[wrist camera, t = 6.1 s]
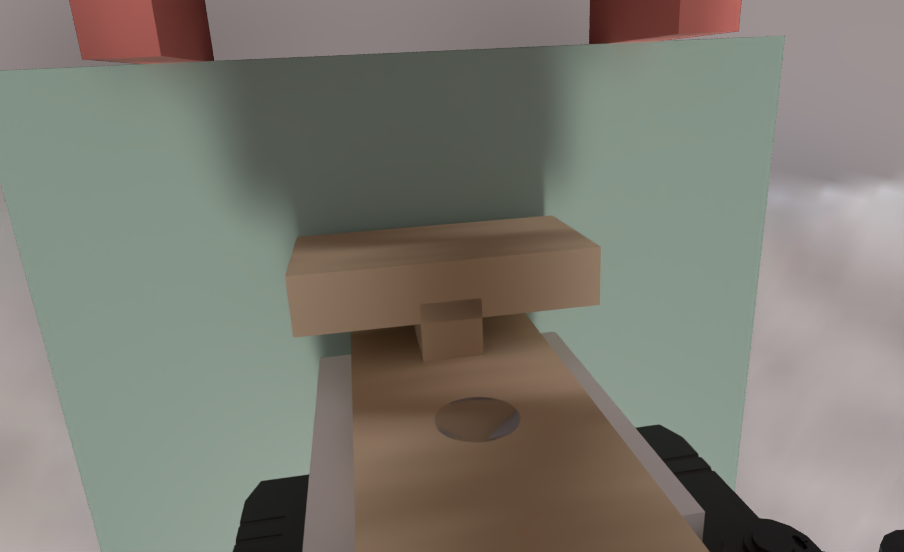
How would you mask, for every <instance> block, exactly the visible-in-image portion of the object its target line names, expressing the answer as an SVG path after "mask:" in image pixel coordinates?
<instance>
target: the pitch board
mask: <svg viewBox="0 0 904 552" xmlns="http://www.w3.org/2000/svg"><path fill="white" fill-rule="evenodd" d="M784 42H785V36H765V37H742V38H720V39H697V40H675V41H652V42H630V43H607V44H587V45H586V44H585V45H563V46H541V47H519V48H496V49H473V50H451V51H428V52H405V53H383V54H363V55H361V54H360V55H338V56H317V57H316V56H315V57H293V58H272V59H271V58H270V59H249V60H225V61H203V62H180V63H158V64H136V65H115V66H114V65H113V66H91V67H68V68H48V69H47V68H46V69H24V70H2V71H0V184H1V187H2V191H3V195H4V198H5V202H6V206H7V209H8V213H9V216H10V220H11V224H12V227H13V231H14V235H15V238H16V242H17V246H18V249H19V253H20V257H21V260H22V264H23V268H24V271H25V275H26V279H27V282H28V286H29V290H30V293H31V297H32V300H33V304H34V308H35V311H36V315H37V319H38V322H39V326H40V330H41V333H42V337H43V341H44V344H45V348H46V352H47V355H48V359H49V363H50V366H51V370H52V374H53V377H54V381H55V384H56V388H57V392H58V395H59V399H60V403H61V406H62V410H63V414H64V417H65V421H66V425H67V428H68V432H69V436H70V439H71V443H72V447H73V450H74V454H75V458H76V461H77V465H78V468H79V472H80V476H81V479H82V483H83V487H84V490H85V494H86V498H87V501H88V505H89V509H90V512H91V516H92V520H93V523H94V527H95V531H96V534H97V538H98V542H99V545H100V549H101V552H233V549H234V545H236V536H237V532H238V528H239V527H240V519H241V515H242V511H243V507H244V503H245V500H246V499H247V498H248V496H249V495H250V494H251V493H252V492H253V490H254V489H255V488H256V487H257V485H258V484H259V483H260V482H261V481H264V480H272V479H279V478H286V477H293V476H301V475H308V474H309V472H310V461H311V450H312V439H313V428H314V416H315V405H316V394H317V383H318V372H319V361H320V358H323V357H332V356H341V355H350V354H351V332H342V333H332V334H323V335H314V336H304V337H295V338H293V332H292V325H291V318H290V311H289V303H288V296H287V289H286V282H285V274H286V271H287V268H288V264H289V261H290V258H291V254H292V251H293V248H294V245H295V241H296V238H297V237H301V236H313V235H325V234H337V233H349V232H361V231H372V230H384V229H396V228H408V227H420V226H432V225H444V224H455V223H467V222H479V221H491V220H503V219H515V218H526V217H538V216H550V215H553V216H554V217H556V218H557V219H559V220H560V221H562V222H563V223H565V224H567V225H568V226H570V227H571V228H573V229H574V230H576V231H577V232H579V233H580V234H582V235H583V236H585V237H586V238H588V239H590V240H591V241H593V242H594V243H596V244H597V245H599V246H600V247H601V272H600V305H594V306H585V307H576V308H566V309H557V310H548V311H538V312H529V313H525V314H526V315H527V316H528V318H529V319H530V320H531V321H532V323H533V324H534V325H535V327H536V328H537V329H538V330H539V332H540V333H546V332H556V333H557V334H558V335H559V337H560V338H561V339H562V340H563V341H564V343H565V344H566V345H567V346H568V348H569V349H570V350H571V351H572V352H573V354H574V355H575V356H576V357H577V358H578V360H579V361H580V362H581V363H582V364H583V366H584V367H585V368H586V369H587V370H588V372H589V373H590V374H591V375H592V376H593V378H594V379H595V380H596V381H597V382H598V384H599V385H600V386H601V387H602V388H603V390H604V391H605V392H606V393H607V394H608V396H609V397H610V398H611V399H612V400H613V402H614V403H615V404H616V405H617V406H618V408H619V409H620V410H621V411H622V413H623V414H624V415H625V416H626V417H627V419H628V420H629V421H630V422H631V423H632V425H633V426H634V427H635V428H636V427H644V426H651V425H658V424H660V425H662V426H664V427H665V428H667V429H669V430H671V431H673V432H674V433H676V434H678V435H680V436H682V437H683V438H684V439H685V440H686V441H687V442H688V443H689V444H690V445H691V446H692V447H693V449H694V450H695V451H696V452H697V453H698V455H699V457H702V458H703V459H704V460H705V461H706V462H707V463H708V464H709V466H710V467H711V469H712V471H715V472H716V473H717V474H718V475H719V476H720V477H721V478H722V479H723V480H724V481H725V483H726V484H727V485H728V486H729V487H730V488H731V489H732V490H733V491H734V492H735V484H736V475H737V466H738V457H739V448H740V439H741V430H742V421H743V412H744V403H745V394H746V385H747V376H748V367H749V358H750V349H751V340H752V331H753V322H754V313H755V304H756V295H757V286H758V277H759V268H760V259H761V250H762V241H763V232H764V223H765V214H766V205H767V196H768V187H769V178H770V169H771V159H772V150H773V141H774V132H775V123H776V114H777V105H778V96H779V87H780V78H781V69H782V60H783V50H784Z"/></svg>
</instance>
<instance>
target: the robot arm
mask: <svg viewBox="0 0 904 552" xmlns="http://www.w3.org/2000/svg"><path fill="white" fill-rule="evenodd" d="M541 334H542V336H543V337H544V338H545V340H546V341H547V342H548V343H549V345H550V346H551V347H552V349H553V350H554V351H555V352H556V354H557V355H558V356H559V358H560V359H561V360H562V361H563V363H564V364H565V365H566V367H567V368H568V369H569V371H570V372H571V373H572V374H573V376H574V377H575V378H576V380H577V381H578V382H579V383H580V385H581V386H582V387H583V389H584V390H585V391H586V393H587V394H588V395H589V396H590V398H591V399H592V400H593V402H594V403H595V404H596V405H597V407H598V408H599V409H600V411H601V412H602V413H603V414H604V416H605V417H606V418H607V420H608V421H609V422H610V424H611V425H612V426H613V427H614V429H615V430H616V431H617V433H618V434H619V435H620V436H621V438H622V439H623V440H624V442H625V443H626V444H627V446H628V447H629V448H630V449H631V451H632V452H633V453H634V455H635V456H636V457H637V458H638V460H639V461H640V462H641V464H642V465H643V466H644V468H645V469H646V470H647V471H648V473H649V474H650V475H651V477H652V478H653V479H654V480H655V482H656V483H657V484H658V486H659V487H660V488H661V489H662V491H663V492H664V493H665V495H666V496H667V497H668V499H669V500H670V501H671V502H672V504H673V505H674V506H675V508H676V509H677V510H678V511H679V513H680V514H681V515H682V517H683V518H684V519H685V521H686V522H687V523H688V524H689V526H690V527H691V528H692V530H693V531H694V532H695V533H696V535H697V536H698V537H699V539H700V540H701V541H702V543H703V544H704V545H705V546H706V548H707V549H708V550H709V552H823V551H821V550H820V549H819V548H818V547H817V546H816V545H815V544H814V543H813V542H812V541H811V540H810V539H809V538H808V537H807V536H806V535H804V534H803V533H801V532H799V531H798V530H796V529H794V528H793V527H791V526H789V525H786V524H783V523H780V522H777V521H774V520H770V519H761V518H758V516H757V515H756V514H755V513H754V512H753V511H752V510H751V509H750V508H749V507H748V506H747V505H746V504H745V503H744V502H743V501H742V499H741V498H740V497H739V496H738V495H737V494H736V493H735V492H734V491H733V490H732V489H731V488H730V487H729V486H728V485H727V484H726V483H725V481H724V480H723V479H722V478H721V477H720V476H719V475H718V474H717V473H716V472H715V471H712V469H711V467H710V466H709V464H708V463H707V462H706V461H705V460H704V459H703V458H702V457H699V455H698V453H697V452H696V451H695V450H694V449H693V447H692V446H691V445H690V444H689V443H688V442H687V441H686V440H685V439H684V438H683V437H682V436H680V435H678V434H676V433H674V432H673V431H671V430H669V429H667V428H665V427H664V426H662V425H660V424H658V425H651V426H644V427H636V428H635V427H634V426H633V425H632V423H631V422H630V421H629V420H628V419H627V417H626V416H625V415H624V414H623V413H622V411H621V410H620V409H619V408H618V406H617V405H616V404H615V403H614V402H613V400H612V399H611V398H610V397H609V396H608V394H607V393H606V392H605V391H604V390H603V388H602V387H601V386H600V385H599V384H598V382H597V381H596V380H595V379H594V378H593V376H592V375H591V374H590V373H589V372H588V370H587V369H586V368H585V367H584V366H583V364H582V363H581V362H580V361H579V360H578V358H577V357H576V356H575V355H574V354H573V352H572V351H571V350H570V349H569V348H568V346H567V345H566V344H565V343H564V341H563V340H562V339H561V338H560V337H559V335H558V334H557V333H556V332H546V333H541ZM233 552H356V537H355V495H354V454H353V412H352V370H351V354H350V355H341V356H332V357H323V358H320V361H319V372H318V383H317V394H316V405H315V416H314V428H313V439H312V450H311V461H310V472H309V474H308V475H301V476H293V477H286V478H279V479H272V480H264V481H261V482H260V483H259V484H258V485H257V487H256V488H255V489H254V490H253V492H252V493H251V494H250V495H249V496H248V498H247V499H246V500H245V503H244V507H243V511H242V515H241V519H240V527H239V528H238V532H237V536H236V545H234V549H233ZM879 552H904V530H895V531H893V532H891V533H889V534H887V535H884V538H883V540H882V542H881V544H880V548H879Z"/></svg>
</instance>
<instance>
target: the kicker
mask: <svg viewBox="0 0 904 552" xmlns="http://www.w3.org/2000/svg"><path fill="white" fill-rule="evenodd" d="M600 272H601V247H600V246H599V245H597V244H596V243H594V242H593V241H591V240H590V239H588V238H586V237H585V236H583V235H582V234H580V233H579V232H577V231H576V230H574V229H573V228H571V227H570V226H568V225H567V224H565V223H563V222H562V221H560V220H559V219H557V218H556V217H554V216H553V215H550V216H538V217H526V218H515V219H503V220H491V221H479V222H467V223H455V224H444V225H432V226H420V227H408V228H396V229H384V230H372V231H361V232H349V233H337V234H325V235H313V236H301V237H297V238H296V241H295V245H294V248H293V251H292V254H291V258H290V261H289V264H288V268H287V271H286V274H285V282H286V289H287V296H288V303H289V311H290V318H291V325H292V332H293V338H295V337H304V336H314V335H323V334H332V333H342V332H351V370H352V412H353V454H354V495H355V537H356V552H709V550H708V549H707V548H706V546H705V545H704V544H703V543H702V541H701V540H700V539H699V537H698V536H697V535H696V533H695V532H694V531H693V530H692V528H691V527H690V526H689V524H688V523H687V522H686V521H685V519H684V518H683V517H682V515H681V514H680V513H679V511H678V510H677V509H676V508H675V506H674V505H673V504H672V502H671V501H670V500H669V499H668V497H667V496H666V495H665V493H664V492H663V491H662V489H661V488H660V487H659V486H658V484H657V483H656V482H655V480H654V479H653V478H652V477H651V475H650V474H649V473H648V471H647V470H646V469H645V468H644V466H643V465H642V464H641V462H640V461H639V460H638V458H637V457H636V456H635V455H634V453H633V452H632V451H631V449H630V448H629V447H628V446H627V444H626V443H625V442H624V440H623V439H622V438H621V436H620V435H619V434H618V433H617V431H616V430H615V429H614V427H613V426H612V425H611V424H610V422H609V421H608V420H607V418H606V417H605V416H604V414H603V413H602V412H601V411H600V409H599V408H598V407H597V405H596V404H595V403H594V402H593V400H592V399H591V398H590V396H589V395H588V394H587V393H586V391H585V390H584V389H583V387H582V386H581V385H580V383H579V382H578V381H577V380H576V378H575V377H574V376H573V374H572V373H571V372H570V371H569V369H568V368H567V367H566V365H565V364H564V363H563V361H562V360H561V359H560V358H559V356H558V355H557V354H556V352H555V351H554V350H553V349H552V347H551V346H550V345H549V343H548V342H547V341H546V340H545V338H544V337H543V336H542V334H541V333H540V332H539V330H538V329H537V328H536V327H535V325H534V324H533V323H532V321H531V320H530V319H529V318H528V316H527V315H526V314H525V313H529V312H538V311H548V310H557V309H566V308H576V307H585V306H594V305H600Z"/></svg>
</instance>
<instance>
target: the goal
mask: <svg viewBox="0 0 904 552" xmlns="http://www.w3.org/2000/svg"><path fill="white" fill-rule="evenodd" d="M69 1H70V6H71V11H72V15H73V20H74V24H75V29H76V33H77V38H78V42H79V47H80V51H81V56H82V59H83V60H96V61H109V62H122V63H135V64H158V63H180V62H203V61H214V56H213V50H212V44H211V37H210V31H209V25H208V19H207V12H206V5H205V0H69ZM741 1H742V0H590V30H589V44H607V43H630V42H652V41H663V40H672V39H680V38H688V37H696V36H704V35H712V34H721V33H728V32H736V31H739V23H740V12H741Z"/></svg>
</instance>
